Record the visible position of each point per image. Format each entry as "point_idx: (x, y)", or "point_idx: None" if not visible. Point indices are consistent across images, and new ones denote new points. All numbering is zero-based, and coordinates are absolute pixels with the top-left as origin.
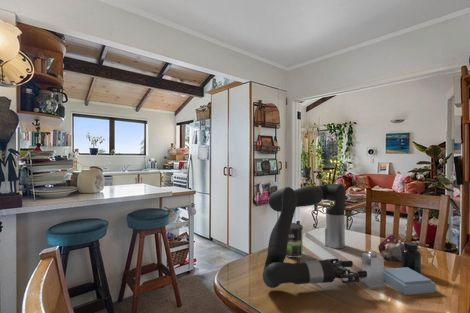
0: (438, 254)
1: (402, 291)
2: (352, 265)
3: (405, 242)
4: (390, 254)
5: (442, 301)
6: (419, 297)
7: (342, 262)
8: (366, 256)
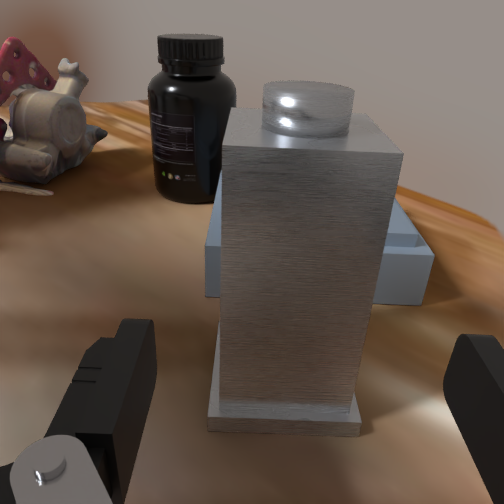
0: (112, 110)
1: (406, 294)
2: (156, 364)
3: (165, 36)
4: (54, 148)
5: (452, 235)
6: (433, 272)
7: (87, 462)
8: (310, 159)
